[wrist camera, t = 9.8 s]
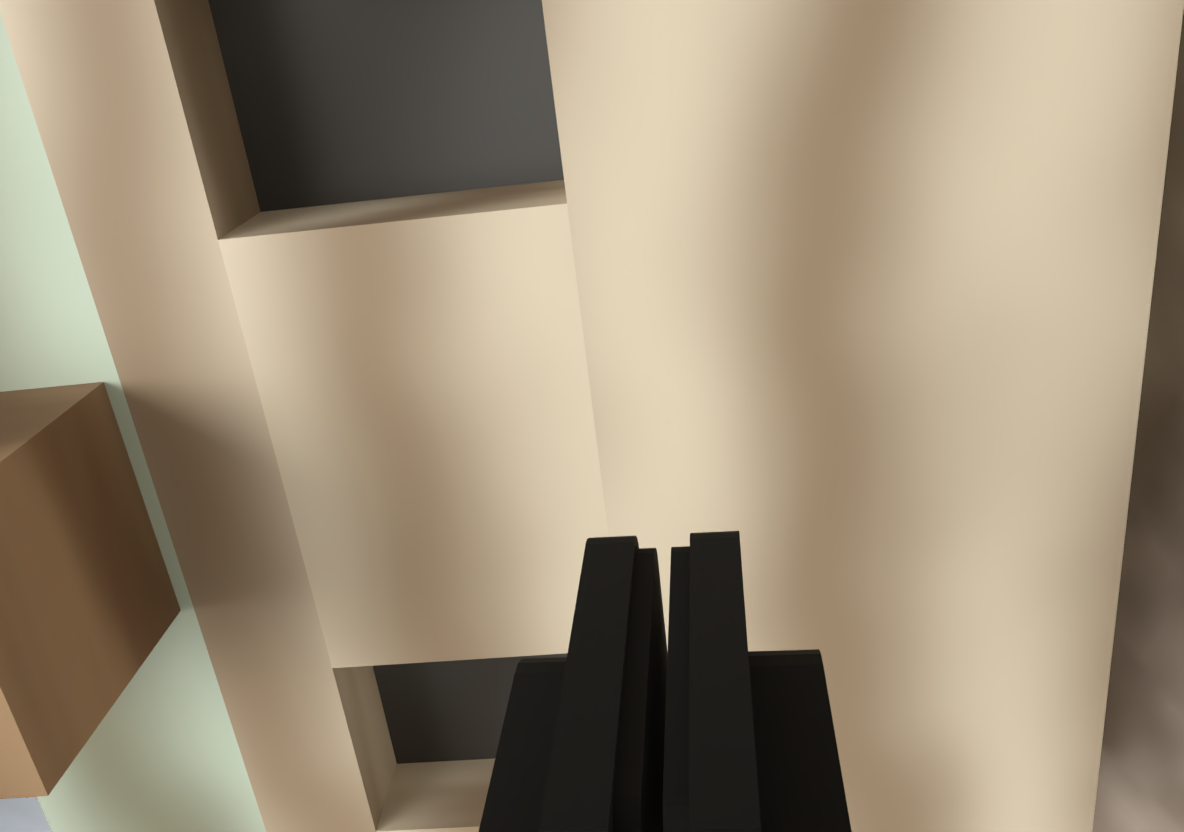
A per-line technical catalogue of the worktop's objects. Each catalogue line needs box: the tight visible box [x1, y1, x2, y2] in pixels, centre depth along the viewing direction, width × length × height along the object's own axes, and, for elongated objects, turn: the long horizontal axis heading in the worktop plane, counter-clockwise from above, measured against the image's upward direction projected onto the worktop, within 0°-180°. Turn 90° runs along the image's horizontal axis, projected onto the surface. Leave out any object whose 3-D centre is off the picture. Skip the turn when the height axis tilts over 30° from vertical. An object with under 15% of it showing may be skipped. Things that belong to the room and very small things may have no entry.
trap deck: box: [0, 0, 1184, 832], centre depth 20 cm, size 23×20×2 cm
